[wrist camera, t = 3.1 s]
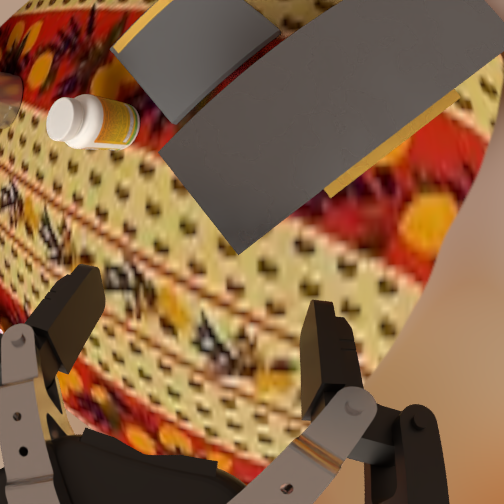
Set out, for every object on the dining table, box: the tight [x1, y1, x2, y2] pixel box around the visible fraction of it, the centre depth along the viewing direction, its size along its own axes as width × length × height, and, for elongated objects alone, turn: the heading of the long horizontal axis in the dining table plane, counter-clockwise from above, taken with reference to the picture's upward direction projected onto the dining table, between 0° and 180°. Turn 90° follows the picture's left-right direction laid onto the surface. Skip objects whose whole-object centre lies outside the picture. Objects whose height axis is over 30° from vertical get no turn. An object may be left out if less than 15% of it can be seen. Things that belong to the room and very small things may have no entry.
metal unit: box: [158, 0, 504, 255], centre depth 18 cm, size 7×18×16 cm, turn 130°
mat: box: [110, 0, 281, 124], centre depth 26 cm, size 14×14×1 cm
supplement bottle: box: [46, 94, 140, 150], centre depth 26 cm, size 5×5×10 cm
